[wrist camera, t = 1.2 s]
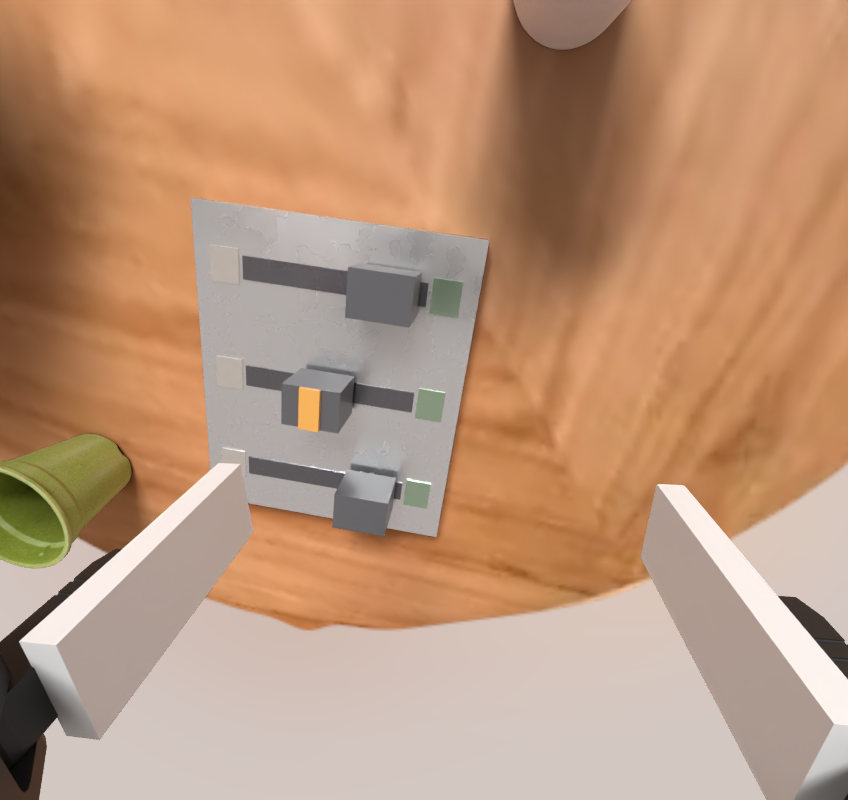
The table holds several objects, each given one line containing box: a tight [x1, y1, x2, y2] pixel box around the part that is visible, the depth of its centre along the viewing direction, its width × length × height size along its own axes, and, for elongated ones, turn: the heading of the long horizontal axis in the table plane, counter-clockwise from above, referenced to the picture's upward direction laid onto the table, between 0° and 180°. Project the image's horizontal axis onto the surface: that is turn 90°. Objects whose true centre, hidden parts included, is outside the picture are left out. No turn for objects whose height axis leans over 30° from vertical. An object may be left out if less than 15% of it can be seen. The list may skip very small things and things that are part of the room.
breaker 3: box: [332, 470, 396, 537], centre depth 33 cm, size 4×3×4 cm
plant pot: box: [0, 434, 131, 568], centre depth 35 cm, size 9×9×9 cm
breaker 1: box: [281, 368, 354, 434], centre depth 30 cm, size 4×3×4 cm
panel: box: [191, 198, 489, 537], centre depth 33 cm, size 20×24×2 cm
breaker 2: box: [345, 263, 422, 328], centre depth 27 cm, size 4×3×4 cm
